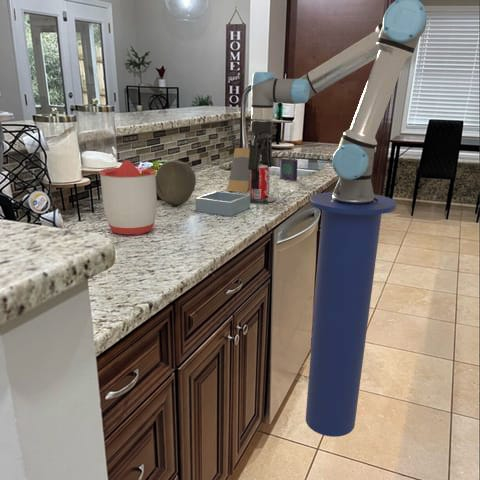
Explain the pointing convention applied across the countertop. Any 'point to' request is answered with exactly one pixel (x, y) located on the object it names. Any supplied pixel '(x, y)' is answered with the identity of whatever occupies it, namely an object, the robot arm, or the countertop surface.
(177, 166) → the cantaloupe
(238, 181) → the sandwich container
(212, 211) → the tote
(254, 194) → the soda can
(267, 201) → the coaster
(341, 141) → the robot arm
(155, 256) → the countertop surface
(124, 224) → the citrus juicer
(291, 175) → the dark purple green box
